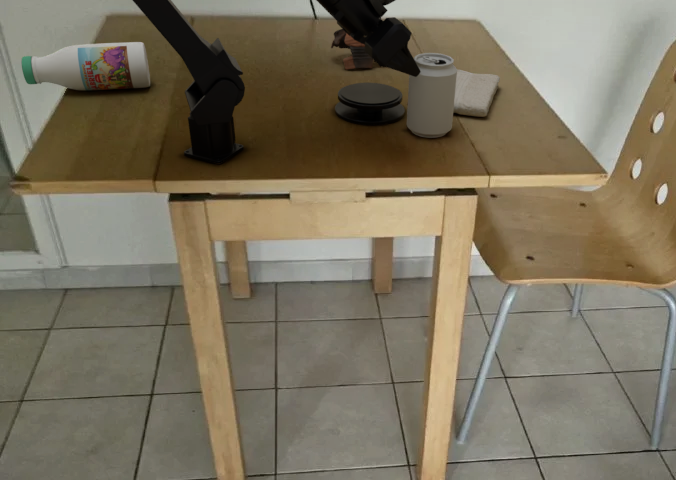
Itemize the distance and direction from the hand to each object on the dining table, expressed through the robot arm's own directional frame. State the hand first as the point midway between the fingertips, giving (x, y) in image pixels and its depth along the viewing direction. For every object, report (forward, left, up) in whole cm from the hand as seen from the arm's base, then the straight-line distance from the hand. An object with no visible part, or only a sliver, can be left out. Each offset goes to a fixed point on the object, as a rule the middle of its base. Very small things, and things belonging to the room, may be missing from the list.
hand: (407, 64), depth 110 cm
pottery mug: (+28, +22, -11) cm, 37 cm away
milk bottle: (-3, +48, -7) cm, 49 cm away
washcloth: (+20, -3, -11) cm, 23 cm away
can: (+3, -3, -11) cm, 12 cm away
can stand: (+6, +9, -11) cm, 15 cm away
